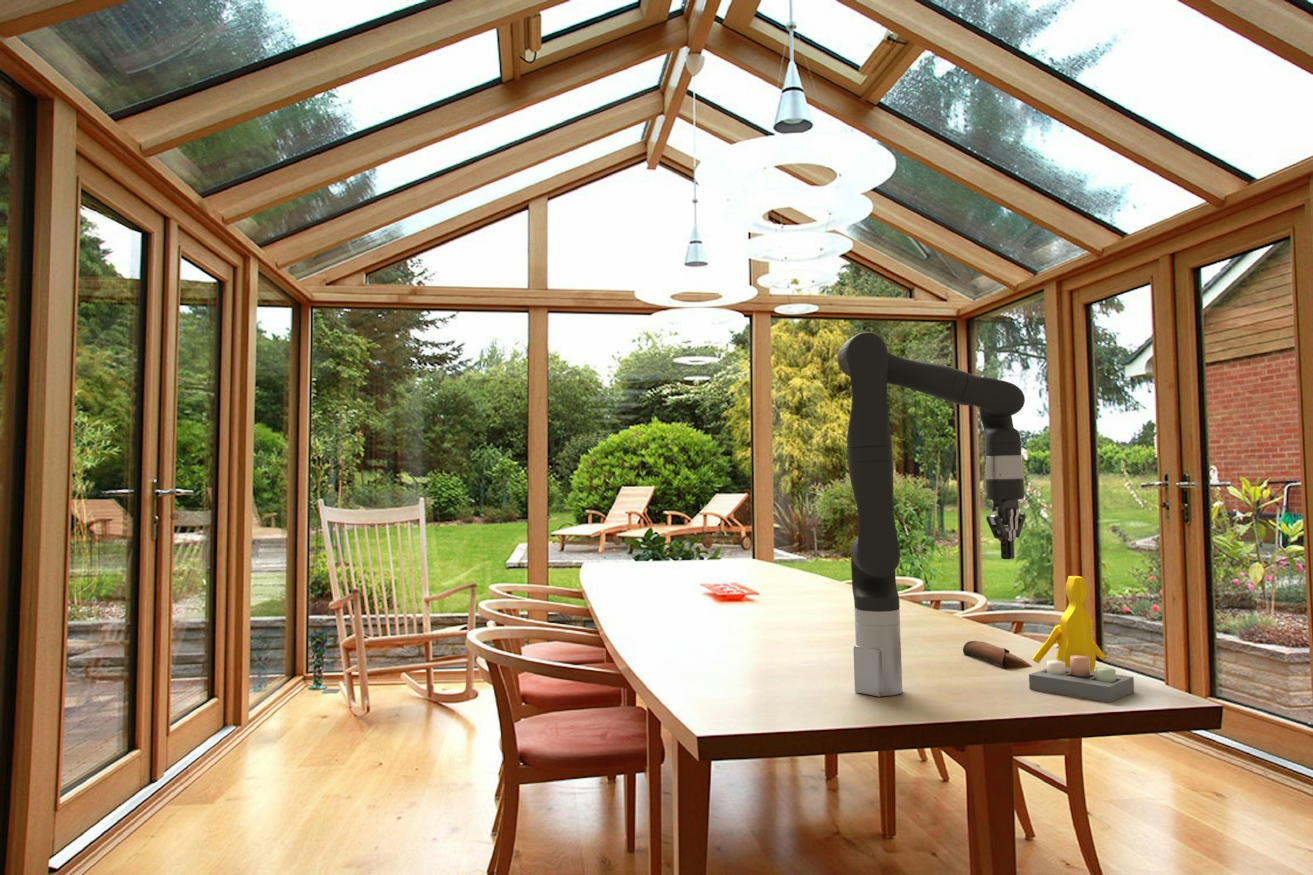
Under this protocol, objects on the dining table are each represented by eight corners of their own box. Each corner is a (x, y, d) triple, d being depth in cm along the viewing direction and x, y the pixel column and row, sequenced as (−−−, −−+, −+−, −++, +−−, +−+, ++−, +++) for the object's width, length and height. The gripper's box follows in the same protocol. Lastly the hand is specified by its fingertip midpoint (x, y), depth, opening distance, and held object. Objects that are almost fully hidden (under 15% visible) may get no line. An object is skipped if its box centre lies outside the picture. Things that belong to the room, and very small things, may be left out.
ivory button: (1061, 681, 179) (1060, 664, 180) (1044, 678, 182) (1043, 662, 182) (1068, 678, 182) (1068, 661, 182) (1051, 676, 184) (1051, 659, 185)
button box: (1110, 702, 168) (1109, 686, 168) (1029, 688, 180) (1028, 674, 180) (1134, 691, 176) (1133, 676, 176) (1055, 679, 188) (1054, 665, 188)
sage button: (1112, 689, 172) (1111, 671, 172) (1093, 686, 175) (1092, 669, 175) (1119, 686, 174) (1118, 668, 174) (1100, 683, 177) (1099, 666, 177)
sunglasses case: (1036, 666, 201) (1021, 642, 200) (1013, 683, 199) (998, 659, 199) (992, 652, 218) (979, 630, 218) (971, 668, 217) (958, 645, 217)
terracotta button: (1085, 676, 176) (1084, 659, 176) (1067, 674, 178) (1067, 657, 179) (1093, 673, 178) (1092, 656, 178) (1075, 671, 181) (1074, 654, 181)
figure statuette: (1098, 668, 198) (1094, 572, 199) (1122, 675, 190) (1117, 575, 191) (1027, 672, 195) (1023, 574, 196) (1048, 680, 187) (1043, 578, 188)
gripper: (1006, 477, 177) (1009, 562, 176) (1036, 476, 186) (1039, 557, 185) (972, 477, 183) (975, 560, 182) (1002, 477, 191) (1006, 555, 190)
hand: (1007, 558), depth 183 cm, fingers closed
